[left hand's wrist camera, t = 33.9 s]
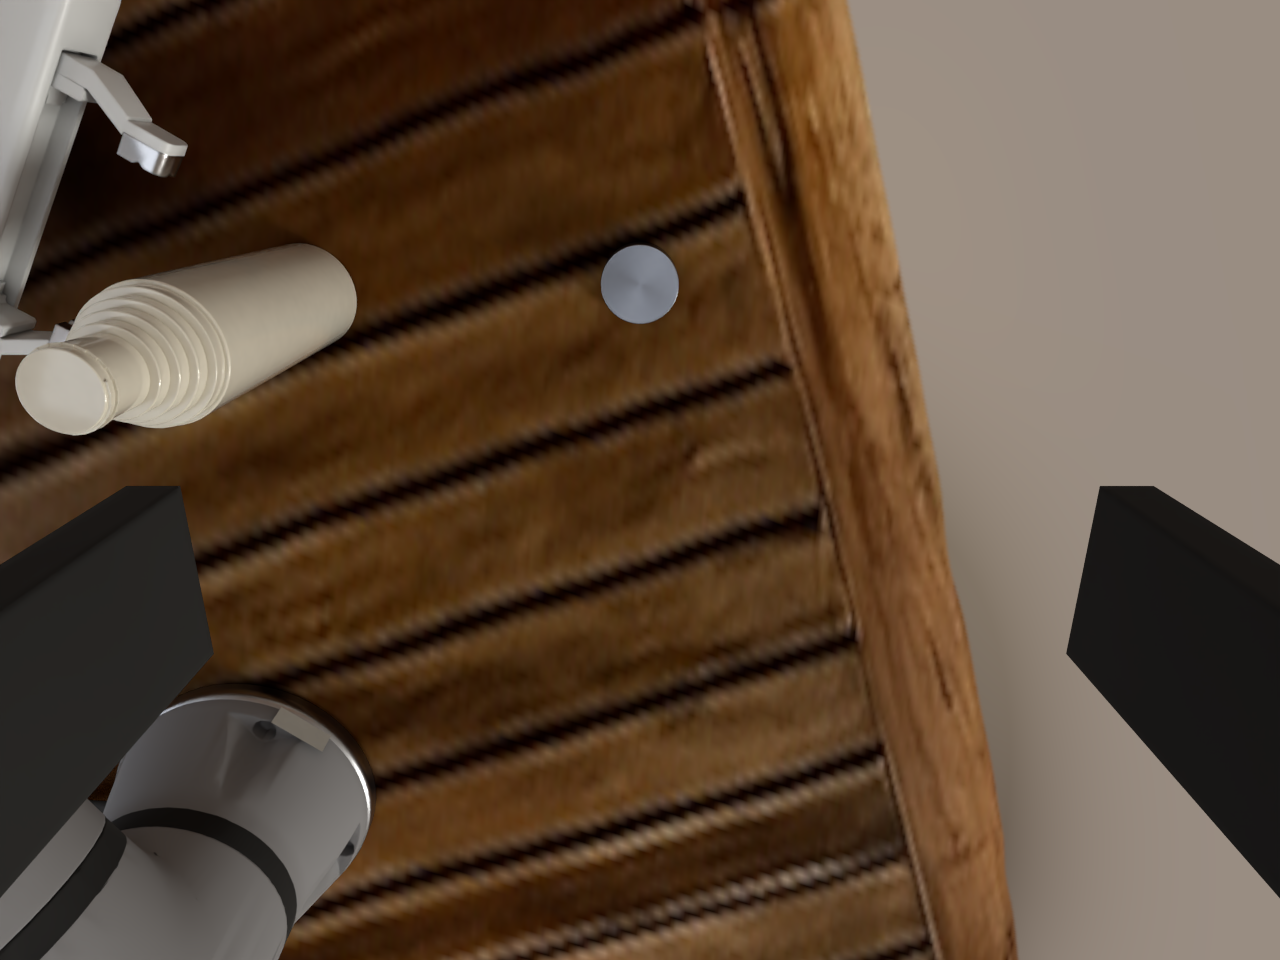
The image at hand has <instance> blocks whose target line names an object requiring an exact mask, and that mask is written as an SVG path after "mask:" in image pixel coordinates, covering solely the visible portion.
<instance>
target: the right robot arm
mask: <svg viewBox="0 0 1280 960" xmlns="http://www.w3.org/2000/svg"><path fill="white" fill-rule="evenodd" d="M120 4H121V0H0V358H1V355H28V354H29V353H31V352H32V351H33V350H34V349H35V348H37V347H39V346H42V345H45V344H47V343H51V342H64V341H65V340H66V337H67V335H68V333H69V331H70V330H71V328H72V326H73V324H74V322H75V319H73V320H71V321H70V322H69V323H67V322H62V323H59V324H56V325H55V327H54V330H53V331H33V330H32V329H33V328H34V327H35V324H36V319H35V318H34V317H32V316H30V315H28V314H26V313H24V312H23V311H21V310H19V309H17V308H18V305H19V302H20V299H21V296H22V293H23V290H24V287H25V284H26V281H27V278H28V275H29V272H30V269H31V266H32V264H33V261H34V258H35V255H36V252H37V249H38V246H39V243H40V240H41V237H42V234H43V231H44V228H45V225H46V222H47V219H48V216H49V213H50V210H51V207H52V204H53V201H54V198H55V195H56V193H57V190H58V187H59V184H60V181H61V178H62V175H63V172H64V169H65V166H66V163H67V160H68V157H69V154H70V151H71V148H72V145H73V142H74V139H75V136H76V134H77V131H78V128H79V125H80V122H81V119H82V116H83V113H84V110H85V107H86V104H87V102H91V103H98V104H99V106H100V107H101V108H102V110H103V111H104V112H105V114H106V115H107V116H108V118H109V119H110V120H111V122H112V123H113V124H114V125H115V127H116V128H117V129H118V131H119V132H120V133H121V135H122V138H121V141H120V144H119V148H118V151H117V154H118V155H120V156H121V157H123V158H125V159H126V160H128V161H130V162H132V163H139V164H140V165H141V167H142V168H143V169H144V170H146V171H148V172H150V173H152V174H154V175H157V176H160V177H167V176H168V175H169V176H171V177H175V176H176V174H177V171H178V169H179V166H180V164H181V162H182V159H183V157H184V155H185V152H186V149H187V147H188V145H187V144H186V143H185V142H184V141H183V140H181V139H179V138H177V137H176V136H174V135H172V134H171V133H169V132H167V131H165V130H164V129H162V128H160V127H158V126H157V125H155V124H153V123H152V118H151V117H150V115H149V114H148V112H147V111H146V109H145V108H144V106H143V105H142V103H141V102H140V100H139V99H138V97H137V96H136V94H135V93H134V91H133V90H132V88H131V87H130V85H129V84H128V82H127V81H126V79H125V78H124V76H123V75H121V74H120V73H118V72H116V71H115V70H113V69H111V68H109V67H108V66H106V65H104V64H103V63H101V60H102V57H103V54H104V51H105V48H106V45H107V42H108V39H109V36H110V33H111V30H112V27H113V24H114V21H115V18H116V16H117V13H118V10H119V7H120Z"/></svg>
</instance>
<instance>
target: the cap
mask: <svg viewBox="0 0 1280 960" xmlns="http://www.w3.org/2000/svg"><path fill="white" fill-rule="evenodd" d="M678 289H679V280H678V274H677V271H676V268H675V265H674V263H673V261H672V259H671V258H670V257H669V255H668V254H667V253H666V252H665V251H664V250H662V249H661V248H660V247H658V246H656V245H654V244H651V243H647V242H633V243H629V244H626V245H624V246H622V247H620V248H619V249H617V250H616V251H615V252H614V253H613V254H612V255H611V256H610V258H609V259H608V261H607V263H606V265H605V267H604V270H603V273H602V277H601V291H602V295H603V298H604V301H605V303H606V305H607V306H608V308H609V309H610V310H611V311H612V312H613V313H614V314H615V315H616V316H617V317H619V318H620V319H622V320H624V321H627V322H630V323H635V324H644V323H650V322H653V321H655V320H658V319H659V318H661V317H662V316H664V315H665V314H666V313H667V312H668V311H669V310H670V309H671V307H672V306H673V304H674V302H675V300H676V298H677V294H678Z"/></svg>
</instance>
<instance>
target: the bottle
mask: <svg viewBox="0 0 1280 960" xmlns="http://www.w3.org/2000/svg"><path fill="white" fill-rule="evenodd" d="M356 307H357V298H356V291H355V287H354V284H353V282H352V279H351V277H350V275H349V274H348V272H347V270H346V269H345V268H344V266H343V265H342V264H341V263H340V262H339V261H338V260H337V259H336V258H335V257H334V256H332V255H331V254H330V253H328V252H327V251H325V250H323V249H321V248H318V247H316V246H313V245H309V244H302V243H293V244H286V245H282V246H277V247H273V248H268V249H264V250H259V251H255V252H250V253H246V254H241V255H237V256H232V257H228V258H223V259H219V260H215V261H210V262H206V263H201V264H197V265H192V266H188V267H183V268H179V269H174V270H170V271H165V272H161V273H156V274H152V275H147V276H143V277H138V278H134V279H129V280H125V281H122V282H118V283H115V284H113V285H111V286H109V287H107V288H106V289H104V290H103V291H101V292H100V293H99V294H97V295H96V296H94V297H93V298H91V299H90V300H89V301H88V302H87V303H86V304H85V305H84V306H83V308H82V309H81V310H80V312H79V313H78V315H77V317H76V319H75V322H74V324H73V326H72V328H71V330H70V331H69V333H68V335H67V337H66V340H65V341H64V342H51V343H47V344H45V345H42V346H39V347H37V348H35V349H34V350H33V351H32V352H31V353H29V354H28V355H27V356H26V357H25V358H24V359H23V360H22V362H21V363H20V365H19V367H18V369H17V373H16V390H17V394H18V397H19V399H20V401H21V403H22V405H23V407H24V408H25V410H26V411H27V412H28V413H29V414H30V416H31V417H33V418H34V419H35V420H36V421H37V422H38V423H40V424H41V425H43V426H45V427H46V428H49V429H51V430H53V431H56V432H60V433H64V434H70V435H83V434H84V435H85V434H88V433H90V432H93V431H96V430H97V429H99V428H102V427H104V426H105V425H106V424H108V423H109V422H110V421H112V420H117V421H121V422H127V423H131V424H135V425H139V426H143V427H150V428H167V427H174V426H180V425H186V424H189V423H193V422H195V421H197V420H200V419H202V418H204V417H205V416H207V415H209V414H210V413H212V412H214V411H216V410H217V409H219V408H221V407H223V406H224V405H226V404H228V403H230V402H231V401H233V400H235V399H236V398H238V397H240V396H242V395H243V394H245V393H247V392H249V391H250V390H252V389H254V388H256V387H257V386H259V385H261V384H262V383H264V382H266V381H268V380H269V379H271V378H273V377H275V376H276V375H278V374H280V373H281V372H283V371H285V370H287V369H288V368H290V367H292V366H294V365H295V364H297V363H299V362H301V361H302V360H304V359H306V358H307V357H309V356H311V355H313V354H314V353H316V352H318V351H320V350H321V349H323V348H325V347H327V346H328V345H330V344H332V343H333V342H335V341H337V340H338V339H340V338H341V337H342V336H343V335H344V334H345V333H346V332H347V331H348V329H349V328H350V326H351V324H352V322H353V320H354V317H355V313H356Z"/></svg>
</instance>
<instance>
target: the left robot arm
mask: <svg viewBox="0 0 1280 960" xmlns="http://www.w3.org/2000/svg"><path fill="white" fill-rule="evenodd" d="M213 654H214V653H213V648H212V643H211V638H210V633H209V628H208V623H207V618H206V613H205V608H204V603H203V598H202V593H201V588H200V583H199V578H198V573H197V568H196V563H195V558H194V553H193V548H192V543H191V538H190V533H189V528H188V523H187V518H186V513H185V508H184V503H183V498H182V493H181V489H180V486H126V487H124V488H123V489H121V490H119V491H118V492H116V493H115V494H113V495H111V496H110V497H108V498H107V499H105V500H103V501H102V502H100V503H99V504H97V505H95V506H94V507H92V508H91V509H89V510H87V511H86V512H84V513H83V514H81V515H79V516H78V517H76V518H75V519H73V520H71V521H70V522H68V523H66V524H65V525H63V526H62V527H60V528H58V529H57V530H55V531H54V532H52V533H50V534H49V535H47V536H46V537H44V538H42V539H41V540H39V541H38V542H36V543H34V544H33V545H31V546H30V547H28V548H26V549H25V550H23V551H22V552H20V553H18V554H17V555H15V556H14V557H12V558H10V559H9V560H7V561H6V562H4V563H2V564H1V565H0V960H278V958H279V956H280V954H281V951H282V949H283V947H284V945H285V942H286V940H287V938H288V936H289V934H290V931H291V929H292V927H293V925H294V923H295V922H296V921H297V920H298V919H299V918H300V917H301V916H302V915H303V914H304V913H305V912H306V911H307V910H308V909H309V908H310V907H311V906H312V904H313V903H314V902H315V901H316V900H317V899H318V898H319V897H320V896H321V895H322V894H323V893H324V892H325V891H326V890H327V889H328V888H329V887H330V886H331V885H332V884H333V883H334V881H335V880H336V879H337V878H338V877H339V876H340V875H341V874H342V873H343V872H344V871H345V870H346V869H347V867H348V866H349V865H350V863H351V862H352V861H353V859H354V858H355V857H356V855H357V853H358V852H359V850H360V848H361V846H362V844H363V842H364V840H365V837H366V835H367V832H368V830H369V827H370V825H371V822H372V819H373V816H374V811H375V806H376V788H375V782H374V777H373V774H372V770H371V767H370V765H369V763H368V760H367V758H366V756H365V754H364V753H363V751H362V749H361V748H360V746H359V745H358V743H357V742H356V740H355V739H354V738H353V737H352V736H351V734H350V733H349V732H348V731H347V730H346V729H345V728H344V727H343V726H342V725H341V724H340V723H339V722H338V721H336V720H335V719H334V718H333V717H332V716H330V715H329V714H327V713H326V712H325V711H323V710H322V709H320V708H319V707H317V706H315V705H313V704H312V703H310V702H308V701H306V700H304V699H302V698H300V697H298V696H295V695H292V694H290V693H287V692H284V691H281V690H277V689H274V688H269V687H265V686H259V685H251V684H220V685H212V686H207V687H202V688H199V689H195V690H192V691H189V692H187V693H185V694H182V695H180V696H178V697H176V696H177V695H178V694H179V693H180V692H181V691H182V689H183V688H184V687H185V686H186V685H187V684H188V683H189V681H190V680H191V679H192V678H193V677H194V676H195V674H196V673H197V672H198V671H199V670H200V669H201V668H202V666H203V665H204V664H205V663H206V662H207V661H208V660H209V658H210V657H211V656H212V655H213ZM1066 654H1067V655H1068V656H1069V657H1070V658H1071V660H1072V661H1073V662H1074V663H1075V664H1076V665H1077V666H1078V668H1079V669H1080V670H1081V671H1082V672H1083V673H1084V674H1085V676H1086V677H1087V678H1088V679H1089V680H1090V681H1091V683H1092V684H1093V685H1094V686H1095V687H1096V688H1097V689H1098V691H1099V692H1100V693H1101V694H1102V695H1103V696H1104V697H1105V699H1106V700H1107V701H1108V702H1109V703H1110V704H1111V705H1112V707H1113V708H1114V709H1115V710H1116V711H1117V712H1118V713H1119V715H1120V716H1121V717H1122V718H1123V719H1124V720H1125V721H1126V723H1127V724H1128V725H1129V726H1130V727H1131V728H1132V729H1133V731H1134V732H1135V733H1136V734H1137V735H1138V736H1139V737H1140V739H1141V740H1142V741H1143V742H1144V743H1145V744H1146V745H1147V747H1148V748H1149V749H1150V750H1151V751H1152V752H1153V753H1154V755H1155V756H1156V757H1157V758H1158V759H1159V760H1160V761H1161V763H1162V764H1163V765H1164V766H1165V767H1166V768H1167V770H1168V771H1169V772H1170V773H1171V774H1172V775H1173V776H1174V777H1175V779H1176V780H1177V781H1178V782H1179V783H1180V784H1181V786H1182V787H1183V788H1184V789H1185V790H1186V791H1187V792H1188V794H1189V795H1190V796H1191V797H1192V798H1193V799H1194V800H1195V802H1196V803H1197V804H1198V805H1199V806H1200V807H1201V808H1202V810H1203V811H1204V812H1205V813H1206V814H1207V815H1208V816H1209V818H1210V819H1211V820H1212V821H1213V822H1214V823H1215V824H1216V826H1217V827H1218V828H1219V829H1220V830H1221V831H1222V832H1223V834H1224V835H1225V836H1226V837H1227V838H1228V839H1229V840H1230V842H1231V843H1232V844H1233V845H1234V846H1235V847H1236V849H1237V850H1238V851H1239V852H1240V853H1241V854H1242V855H1243V857H1244V858H1245V859H1246V860H1247V861H1248V862H1249V863H1250V865H1251V866H1252V867H1253V868H1254V869H1255V870H1256V871H1257V873H1258V874H1259V875H1260V876H1261V877H1262V878H1263V879H1264V881H1265V882H1266V883H1267V884H1268V885H1269V886H1270V887H1271V889H1272V890H1273V891H1274V892H1275V893H1276V894H1277V895H1278V897H1279V898H1280V565H1279V564H1278V563H1276V562H1274V561H1273V560H1271V559H1270V558H1268V557H1266V556H1265V555H1263V554H1262V553H1260V552H1258V551H1257V550H1255V549H1254V548H1252V547H1250V546H1249V545H1247V544H1246V543H1244V542H1242V541H1241V540H1239V539H1238V538H1236V537H1234V536H1233V535H1231V534H1230V533H1228V532H1226V531H1225V530H1223V529H1222V528H1220V527H1218V526H1217V525H1215V524H1213V523H1212V522H1210V521H1209V520H1207V519H1205V518H1204V517H1202V516H1201V515H1199V514H1197V513H1196V512H1194V511H1193V510H1191V509H1189V508H1188V507H1186V506H1185V505H1183V504H1181V503H1180V502H1178V501H1177V500H1175V499H1173V498H1172V497H1170V496H1169V495H1167V494H1165V493H1164V492H1162V491H1161V490H1159V489H1157V488H1156V487H1154V486H1100V489H1099V494H1098V499H1097V504H1096V508H1095V514H1094V518H1093V523H1092V529H1091V533H1090V538H1089V543H1088V548H1087V553H1086V558H1085V563H1084V568H1083V573H1082V578H1081V583H1080V588H1079V593H1078V598H1077V603H1076V608H1075V613H1074V618H1073V623H1072V628H1071V633H1070V638H1069V643H1068V648H1067V653H1066ZM175 697H176V698H175ZM120 760H121V761H120ZM119 762H120V764H119V766H118V770H117V774H116V778H115V782H114V785H113V787H112V790H111V793H110V795H109V798H108V800H107V801H96V800H88V799H87V798H88V797H89V796H90V795H91V794H92V792H93V791H94V790H95V789H96V788H97V787H98V786H99V784H100V783H101V782H102V781H103V780H104V779H105V778H106V776H107V775H108V774H109V773H110V772H111V771H112V770H113V768H114V767H115V766H116V765H117V764H118V763H119Z"/></svg>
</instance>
